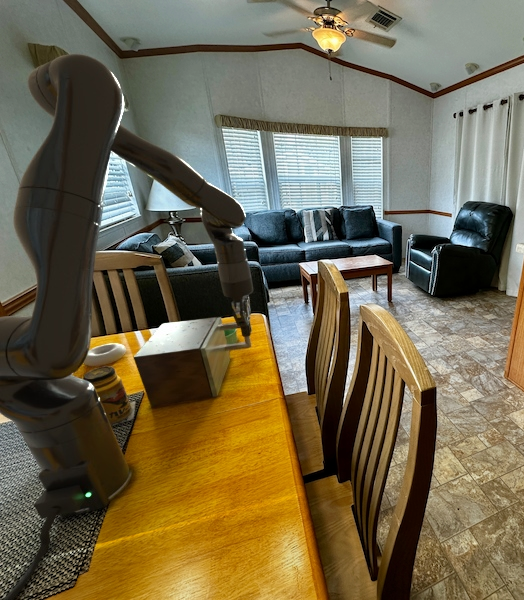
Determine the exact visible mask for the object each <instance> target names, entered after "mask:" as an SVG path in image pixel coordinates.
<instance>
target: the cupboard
mask: <svg viewBox="0 0 524 600" xmlns="http://www.w3.org/2000/svg"><path fill="white" fill-rule="evenodd" d="M216 319H217V317H208V318H207V317H206V318H199V319H189V320H182V321H172V322H171V321H170V322H163V323H161V325H160V326H159V327H158V328H157V329H156V331H155V332H153V334H152V335H151V336H150V337H149V339H148V340H147V341H146V342H145V343H144V344H143V345H142V347H141V348H140V349H139V350H138V351H137V352H136V353H135V354H134V355H133V360H134V363H135V366H136V368H137V372H138V374H139V377H140V380H141V383H142V386H143V388H144V391H145V395H146V397H147V399H148V402H149V405H150V408H151V409H152V408H158V407H165V406H170V405H175V404H182V403H186V402H193V401H199V400H200V401H201V400H205V399H210V398H213V394H212V391H211V387H210V383H209V379H208V376H207V372H206V368H205V364H204V361H203V357H202V353H201V347H202V345H203V343H204V341H205V339H206V338H207V336H208V334H209V332H210V330H211V328H212V326H213V325H214V323H215V321H216Z"/></svg>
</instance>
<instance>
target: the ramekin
mask: <svg viewBox="0 0 524 600" xmlns="http://www.w3.org/2000/svg"><path fill="white" fill-rule="evenodd" d="M237 331H238V328H237V329H229V330H224V333H225V338H226V342H227V344H235V343H238V333H237Z"/></svg>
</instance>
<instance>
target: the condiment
mask: <svg viewBox="0 0 524 600" xmlns="http://www.w3.org/2000/svg"><path fill="white" fill-rule="evenodd" d="M82 379H84V380H86V381H89V382H90V383H92V384H93V386H94V387H95V389H96V391H97V394H98V396H99V398H100V401H101V403H102V405H103V408H104V410H105V413H106V415H107V417H108V420H109V422H110V424H111V427H113V426H116V425H119V424H122V423H125V422H127V421H128V422H129V421H132V420H133V419H134V416H135V412H136V411H135V410H136V401H137V400H135V401H130V399H129V396H128V394H127V391H126V389H125V386H124V384H123V380H122V378H121V376H119V375H118V373H117V372H116V369H115V368H114V367H113V366H108V365H104V366H98V367H96V368H94V369H91V370H89V371H88V372H86V373H85V374H83V377H82ZM126 419H127V420H126Z"/></svg>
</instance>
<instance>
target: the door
mask: <svg viewBox="0 0 524 600" xmlns="http://www.w3.org/2000/svg"><path fill="white" fill-rule="evenodd" d="M229 329H237V330H238V329H241V328H240V326H237V323H236V321H235V322H227V323H223V321H222V317H216V321H215V323H214V325H213V326H212V328H211V330H210V332H209V334H208V336H207V338H206V339H205V341H204V343H203V345H202V347H201V353H202V357H203V361H204V364H205V368H206V372H207V376H208V379H209V383H210V387H211V391H212V394H213V396H212V398H213V397H218V395H219V393H220V390H221V388H222V385H223V382H224V379H225V376H226V373H227V370H228V368H229V364H230V361H231V355H230V351H237V350H245V349H250V348H252V342H251V337H250V336H247V337H243V339H244V341H242V342H236V343H235V344H227V342H226V338H225V333H224V330H229Z"/></svg>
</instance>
